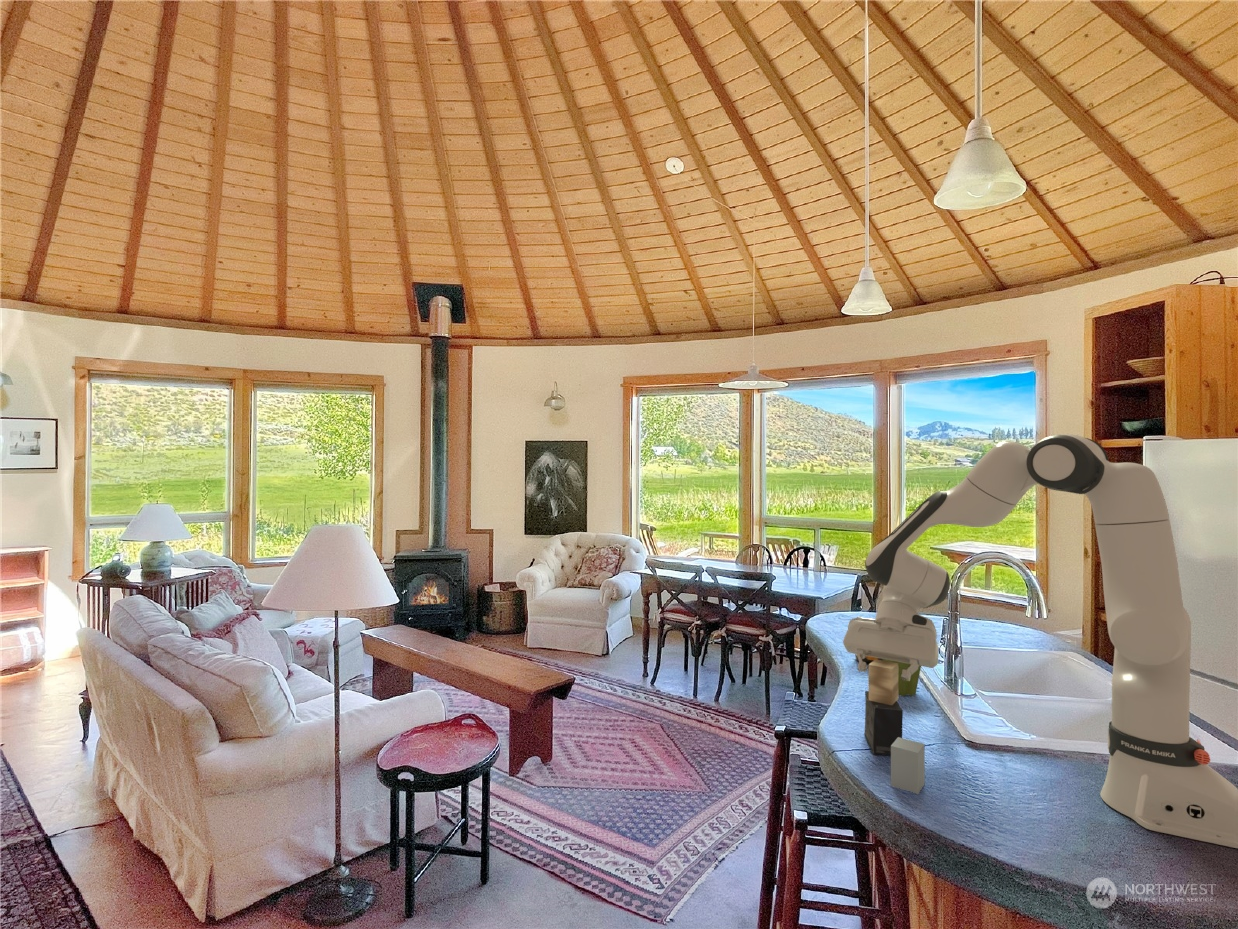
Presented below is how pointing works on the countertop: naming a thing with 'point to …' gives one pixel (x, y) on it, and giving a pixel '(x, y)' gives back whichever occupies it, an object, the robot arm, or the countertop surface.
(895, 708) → the small box
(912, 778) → the grey box
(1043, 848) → the countertop surface
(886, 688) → the maple block
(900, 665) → the plant pot
